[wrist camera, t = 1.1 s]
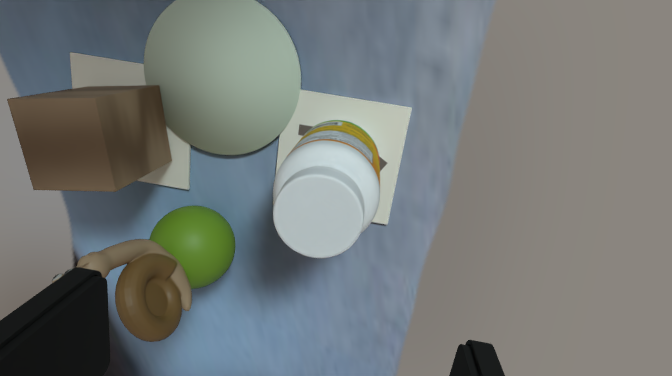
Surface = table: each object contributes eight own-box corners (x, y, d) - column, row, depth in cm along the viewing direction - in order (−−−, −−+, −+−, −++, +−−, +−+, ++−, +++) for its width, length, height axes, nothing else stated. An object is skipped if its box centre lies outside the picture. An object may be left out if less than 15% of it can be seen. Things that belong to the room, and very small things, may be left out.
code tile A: (285, 87, 26) (284, 87, 26) (411, 107, 26) (411, 108, 25) (273, 203, 29) (272, 204, 28) (387, 223, 28) (387, 224, 28)
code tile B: (71, 52, 27) (69, 52, 26) (192, 71, 26) (191, 72, 26) (80, 169, 29) (78, 170, 29) (189, 188, 29) (188, 189, 29)
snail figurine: (214, 170, 28) (105, 254, 17) (258, 247, 30) (186, 371, 19) (151, 198, 30) (10, 295, 18) (196, 272, 31) (94, 401, 20)
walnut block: (87, 86, 27) (7, 99, 21) (159, 85, 26) (94, 97, 21) (104, 160, 29) (33, 189, 23) (172, 160, 28) (115, 191, 22)
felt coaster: (146, -22, 25) (142, -23, 24) (310, 3, 24) (309, 2, 24) (147, 140, 28) (144, 141, 28) (292, 164, 28) (291, 166, 27)
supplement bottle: (351, 212, 28) (338, 293, 19) (283, 170, 28) (235, 234, 18) (396, 146, 26) (405, 202, 17) (323, 101, 26) (293, 133, 17)
